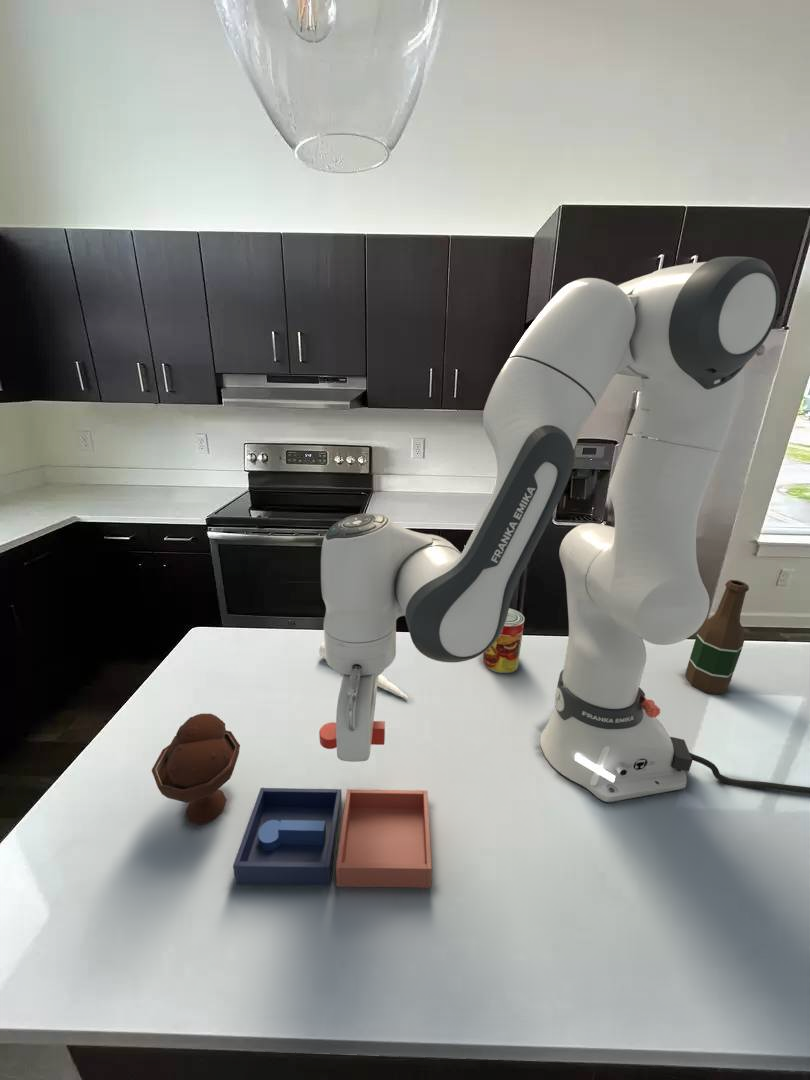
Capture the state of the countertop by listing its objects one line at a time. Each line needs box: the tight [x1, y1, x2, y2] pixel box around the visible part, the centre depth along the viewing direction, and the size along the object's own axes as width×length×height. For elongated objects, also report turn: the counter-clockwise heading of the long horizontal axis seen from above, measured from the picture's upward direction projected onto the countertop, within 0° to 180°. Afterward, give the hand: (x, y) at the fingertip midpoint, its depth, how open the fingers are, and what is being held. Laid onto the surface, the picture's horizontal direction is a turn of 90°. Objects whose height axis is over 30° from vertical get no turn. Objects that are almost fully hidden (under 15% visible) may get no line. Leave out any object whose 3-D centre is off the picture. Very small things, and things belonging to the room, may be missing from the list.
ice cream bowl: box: [151, 713, 241, 826], centre depth 60 cm, size 11×11×15 cm
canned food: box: [482, 607, 526, 674], centre depth 95 cm, size 8×8×12 cm
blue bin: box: [232, 787, 343, 887], centre depth 57 cm, size 12×11×4 cm
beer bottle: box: [684, 579, 750, 696], centre depth 87 cm, size 8×8×24 cm
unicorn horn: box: [318, 639, 409, 700], centre depth 90 cm, size 5×24×5 cm, turn 49°
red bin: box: [335, 788, 433, 889], centre depth 57 cm, size 12×11×4 cm
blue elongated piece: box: [258, 820, 326, 851], centre depth 57 cm, size 9×3×3 cm, turn 90°
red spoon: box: [318, 720, 386, 750], centre depth 58 cm, size 9×3×3 cm, turn 89°
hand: (363, 729), depth 58 cm, fingers closed on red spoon
